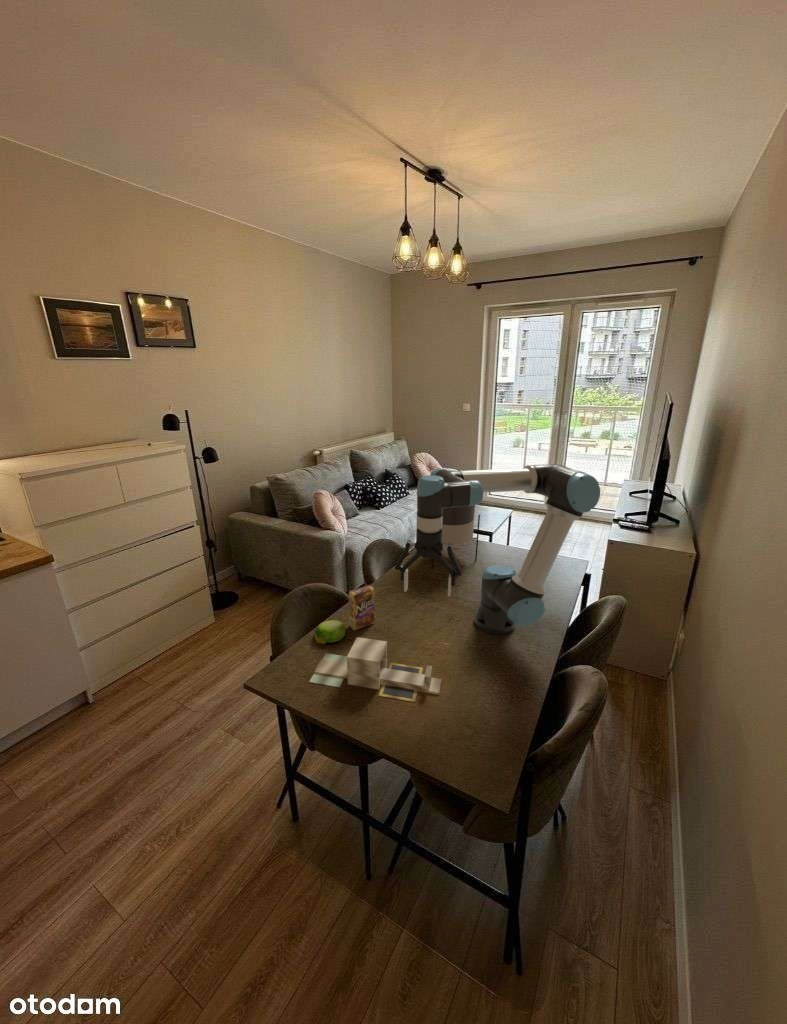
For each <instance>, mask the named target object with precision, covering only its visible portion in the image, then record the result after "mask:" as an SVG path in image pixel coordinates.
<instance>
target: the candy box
mask: <svg viewBox="0 0 787 1024" xmlns="http://www.w3.org/2000/svg"><path fill="white" fill-rule="evenodd" d="M348 618H349V619H348V623H349V624H348V625H349V627H350V628H351V629H352V630H353V631H356V630H359V629H361V628H365V627H367V626H370V625H373V624H374V623H375V588H374V587H373V586H371V585H370V584H367V585H364V586H362V587H358V588H354V589H352V590H349V591H348Z"/></svg>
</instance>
